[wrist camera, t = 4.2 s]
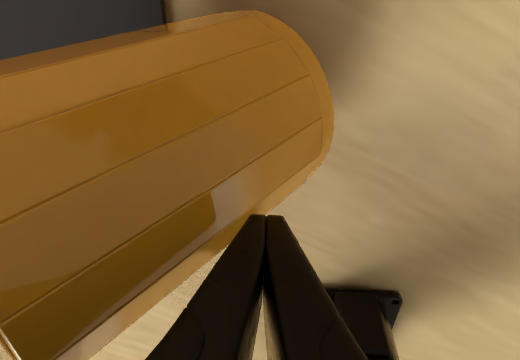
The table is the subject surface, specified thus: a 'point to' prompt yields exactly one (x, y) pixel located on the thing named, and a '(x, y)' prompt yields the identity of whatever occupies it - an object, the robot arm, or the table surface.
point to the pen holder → (143, 167)
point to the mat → (70, 22)
